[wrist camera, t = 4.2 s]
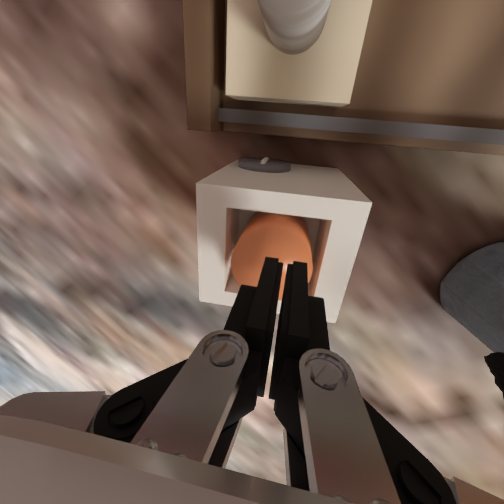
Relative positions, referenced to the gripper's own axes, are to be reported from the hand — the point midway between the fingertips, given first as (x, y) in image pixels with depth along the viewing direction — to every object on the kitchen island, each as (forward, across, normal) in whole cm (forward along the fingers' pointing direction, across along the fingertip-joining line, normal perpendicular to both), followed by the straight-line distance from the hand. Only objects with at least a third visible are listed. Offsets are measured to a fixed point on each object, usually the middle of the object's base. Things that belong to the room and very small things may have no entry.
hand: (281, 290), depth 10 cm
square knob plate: (+11, +1, -11) cm, 15 cm away
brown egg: (+6, +1, 0) cm, 6 cm away
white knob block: (+13, +1, 0) cm, 13 cm away
